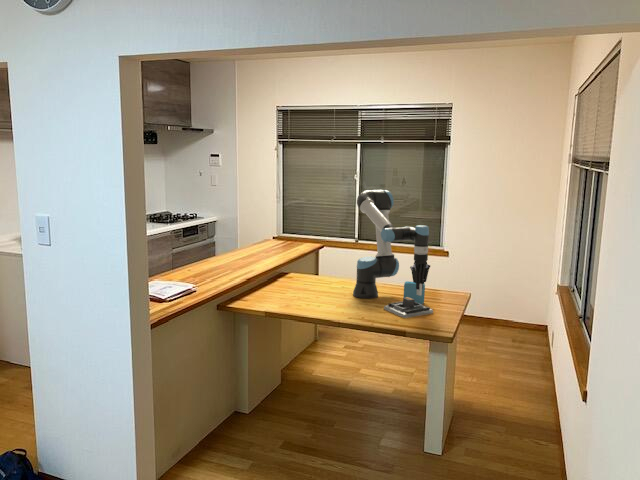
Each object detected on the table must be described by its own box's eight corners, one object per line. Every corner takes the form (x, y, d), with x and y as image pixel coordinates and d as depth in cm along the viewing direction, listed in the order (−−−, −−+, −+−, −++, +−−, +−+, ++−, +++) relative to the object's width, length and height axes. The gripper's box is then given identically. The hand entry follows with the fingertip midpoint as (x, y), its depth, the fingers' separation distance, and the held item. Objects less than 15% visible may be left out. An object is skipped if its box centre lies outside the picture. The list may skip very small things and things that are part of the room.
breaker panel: (383, 309, 299) (384, 303, 298) (411, 304, 309) (411, 298, 308) (404, 318, 284) (404, 311, 283) (432, 313, 294) (433, 306, 293)
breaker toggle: (402, 306, 297) (403, 297, 296) (408, 305, 299) (408, 296, 298) (408, 309, 293) (408, 299, 292) (414, 308, 295) (414, 298, 294)
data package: (424, 302, 315) (425, 282, 313) (424, 304, 310) (425, 284, 308) (403, 300, 317) (404, 281, 315) (403, 302, 312) (404, 283, 310)
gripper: (416, 255, 288) (414, 297, 292) (434, 253, 294) (432, 295, 298) (407, 253, 294) (405, 294, 298) (425, 251, 301) (423, 292, 305)
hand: (419, 294), depth 298 cm, fingers closed
